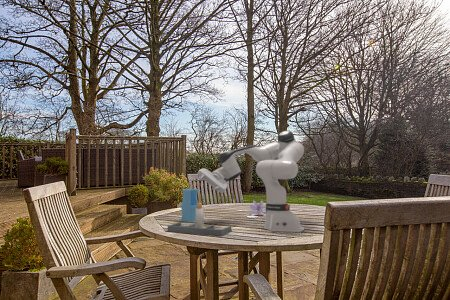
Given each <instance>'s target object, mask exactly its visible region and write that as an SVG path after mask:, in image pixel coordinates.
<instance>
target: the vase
mask: <svg viewBox="0 0 450 300" xmlns="http://www.w3.org/2000/svg"><path fill="white" fill-rule="evenodd" d="M181 191H182V196H183V197H182V202H181V204H180V208H181V219H180V222H185V223H193V222H196V208H197V203H198V200H197V198H198V197H197V196H198V193H199V189H197V188H195V189H193V188H188V189H187V188H186V189H185V188H184V189H181Z"/></svg>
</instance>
